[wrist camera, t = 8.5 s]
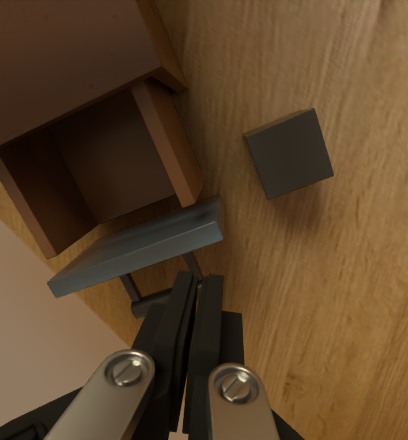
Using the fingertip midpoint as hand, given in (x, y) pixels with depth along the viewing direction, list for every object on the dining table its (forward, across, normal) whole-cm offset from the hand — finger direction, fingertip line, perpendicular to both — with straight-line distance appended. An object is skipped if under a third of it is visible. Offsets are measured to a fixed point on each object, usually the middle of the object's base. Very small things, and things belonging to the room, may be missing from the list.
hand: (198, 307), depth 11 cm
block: (+14, -4, -5) cm, 16 cm away
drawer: (+13, +6, -2) cm, 15 cm away
